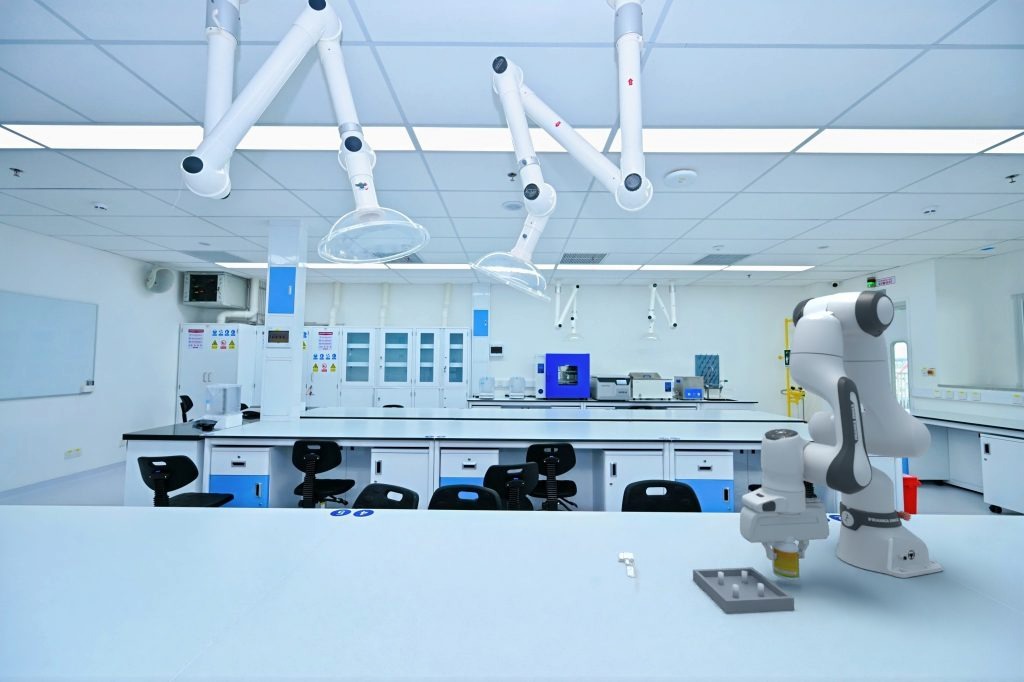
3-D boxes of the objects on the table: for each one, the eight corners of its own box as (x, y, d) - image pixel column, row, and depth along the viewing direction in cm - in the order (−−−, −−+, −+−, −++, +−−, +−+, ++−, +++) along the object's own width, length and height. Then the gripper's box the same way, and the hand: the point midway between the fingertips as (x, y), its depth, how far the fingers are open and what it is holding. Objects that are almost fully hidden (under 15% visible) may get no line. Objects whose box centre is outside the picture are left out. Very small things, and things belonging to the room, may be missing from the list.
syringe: (648, 595, 99) (648, 588, 99) (627, 594, 100) (627, 587, 100) (633, 557, 119) (633, 550, 119) (616, 556, 120) (616, 549, 120)
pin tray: (752, 577, 107) (752, 563, 107) (794, 610, 93) (793, 593, 93) (693, 580, 106) (692, 565, 106) (726, 613, 92) (726, 596, 92)
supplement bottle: (803, 582, 101) (802, 538, 101) (777, 579, 102) (776, 536, 102) (793, 571, 106) (792, 530, 106) (769, 568, 107) (768, 528, 108)
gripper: (814, 493, 109) (816, 550, 108) (735, 496, 107) (737, 554, 107) (835, 501, 102) (837, 562, 102) (751, 505, 101) (753, 567, 100)
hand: (785, 558), depth 104 cm, fingers closed on supplement bottle, 5 cm apart
